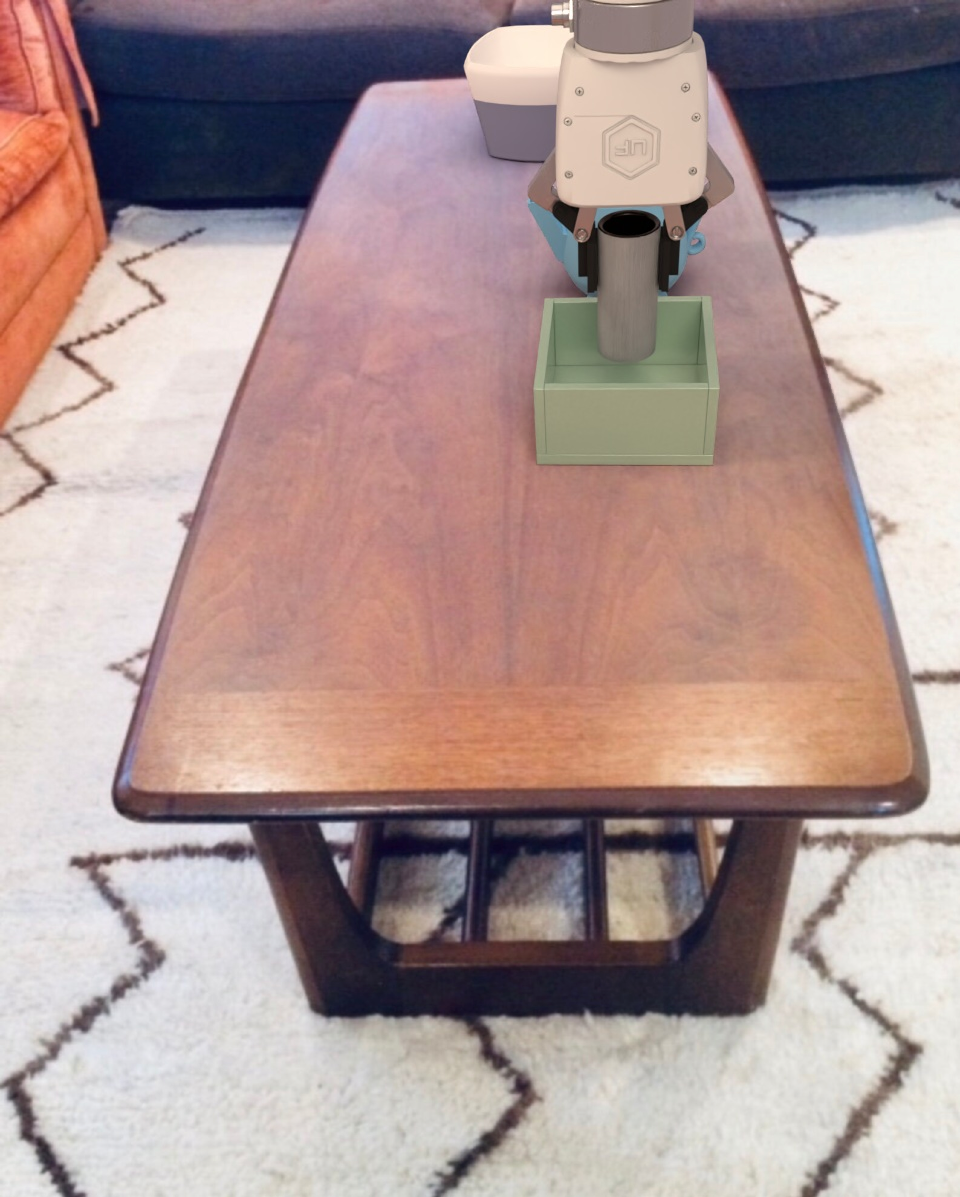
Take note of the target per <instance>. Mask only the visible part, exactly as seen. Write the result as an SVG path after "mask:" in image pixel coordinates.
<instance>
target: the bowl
mask: <svg viewBox="0 0 960 1197" xmlns="http://www.w3.org/2000/svg"><path fill="white" fill-rule="evenodd" d="M572 37H574V32H573V33H570V28H563V26H552V24H534V25H533V24H530V25H529V24H528V25H511V26H509V25H508V26H501V27H500V26H499V27H497V28H494V29H493V30H491V31H488V32H486V33H485V34H484V35H483V36H481V37H480V38H479V39H478V40H476V41H475V42H474V43H473V44H472V46H471V48H470V49H469V51H468V53H467V54H466V57H465V60H464V64H463V70H464V73H465V77H466V79H467V84H468V87H469V90H470V95H471V98H472V101H473V103H474V108H475V110H476V114H477V117H478V121H479V124H480V128H481V131H482V134H483V135H482V136H483V138H484V141H485V145H486V148H487V152H488V154H489V155H490V156H491V157H494V158H498V159H503V160H510V161H516V162H518V161H519V162H545V160H546V159H547V158H548V156H549V155H550V153H551V152H552V150H553V149H554V148H555V146H556V109H557V92H558V79H559V71H560V65H561V58H562V54H563V49H564V47H565V44H566V42H567V41H568V40H569V39H571V38H572Z"/></svg>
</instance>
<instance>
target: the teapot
mask: <svg viewBox="0 0 960 1197" xmlns="http://www.w3.org/2000/svg"><path fill="white" fill-rule="evenodd" d="M526 200H527V201H526V204H527V208H528V210H529V211H530V213H531V215H532V217H533V219H534V220H535V222H536V224H537V226H538V228H539V229H540V231H541V233H542V235H543V236H544V239H545V240H546V242H547V243H548V246H549V247H550V249H551V251H552V252H553V255H554V256H555V258H556V260H557V262H560V263H561V262H562V266H563V268H564V270H565V272H566V273H567V275H568V276H569V278H570V280H571V281H572V282H573V284H574V285H575V286H576V287H577V289H579V291H581V292H582V293H583V294H585V295H586V297H585V298H590V297H597V291H594V293H587V277H578V242H577V241H576V240H575V239H574V236H573V234H572V233H571V232H570V231H569V230H568V229H567V228H566V227H565V226H564V225H563V224H561V223H560V222H559V221H558V220H557V219H556V218H555V217H554V216H553V214H552V213H551V212H549V211H547V210H545V209H544V208H542V207H541V206H539V205H538V204H536V203H535V202H533V201H532V200H530V199H529V198H527V199H526ZM621 210H641V211H646V212H649V213H652V214H654V215H655V216H657V217H658V218H659V220H660V222H661V226H663V220H664V219H665V217H664V213H663V208H662V206H653V207H615V208H597V211H596V215H595V219H594V221H595V224H596V228H597V225H598V222H599V220H600V219H601V218H602V217H604V216H605V215H607V214H609V213H612V212H616V211H621ZM702 219H703V216H702V217H701V218H700V219H699V220H698V221H697V222H696V223H695V224H694V225H692V226H691V227H690V228H689V229H688V230H687V231H686V232H685V236H684V237H683V238H682V239H680V255H679V272H678V275H669V288H668V290H670V289H671V288H673V286H674V285H675V284H676V283H677V282H678V280H679V279H680V277H681V276H682V274H683V272H684V270H685V267H686V265H687V262H688V256H696V255H698V254H700V253H701V252H703V251H704V249H705V247H706V242H707V240H706V236H705V235H704V233H703V232H701V231H697V229H698V227H699V225H700V223H701V221H702ZM693 240H698V241H697V242H696V243H695V244H692V242H693ZM658 296H669V295H668V292H661V290H659V286H658Z"/></svg>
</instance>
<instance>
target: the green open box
mask: <svg viewBox="0 0 960 1197" xmlns="http://www.w3.org/2000/svg"><path fill="white" fill-rule="evenodd" d="M541 317H542V318H541V324H540V332H539V340H538V348H537V356H536V365H535V370H534V371H535V372H534V381H533V388H532V392H533V394H532V395H533V409H534V410H533V411H534V412H533V414H534V416H533V417H534V435H535V436H534V438H535V453H536V454H535V456H536V457H535V459H536V465H539V466H541V465H545V466H547V465H548V466H549V465H550V466H551V465H553V466H554V465H555V466H556V465H557V466H562V465H563V466H565V465H566V466H713V465H714V458H715V457H714V456H715V446H716V437H717V436H716V435H717V424H718V415H719V414H718V413H719V404H720V403H719V401H720V391H721V385H720V376H719V364H718V353H717V342H716V332H715V322H714V311H713V300H712V296H711V295H671V296H670V295H668V296H658V308H657V332H656V347H655V351H654V353H653V354H652V355H651V356H650V357H648V358H647V359H645V360H642V361H639V362H635V363H617V362H613V361H610V360H607V359H605V358H604V357H602V356H601V355H600V353H599V352H598V344H597V297H590V298H586V297H546V298H544V300H543V309H542V316H541Z"/></svg>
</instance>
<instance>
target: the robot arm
mask: <svg viewBox="0 0 960 1197" xmlns="http://www.w3.org/2000/svg"><path fill="white" fill-rule="evenodd" d="M695 3H696V0H562V1H561V2H551V6H550V7H551V8H550V15H551V16H550V18H551V20H550V21H551V25H552V26H563V28H570V33H573V32H574V37H572V38H571V39H569V40H568V41H567V42H566V44H565V47H564V49H563V54H562V58H561V65H560V71H559V79H558V92H557V109H556V146H555V148H554V149H553V150H552V152H551V153H550V155H549V156H548V158H547V159H546V160H545V161H543V163H542V165H541V166H540V168H538V171H537V172H536V173H535V175H534V176H533V178H532V179H531V180H530V182H529V184H528V187H527V197H528V198H529V199H530V200H532V201H533V202H535V203H536V204H538V205H539V206H541V207H542V208H544V209H545V210H547V211H549V212H551V213H552V214H553V216H554V217H555V218H556V219H557V220H558V221H559V222H560V223H561V224H563V225H564V226H565V227H566V228H567V229H568V230H569V231H570V232H571V233H572V234H573V236H574V239H575V240H576V241H577V242H578V277H587V293H594V291H597V251H598V237H597V228H596V224H595V221H594V219H595V215H596V211H597V208H615V207H653V206H662V208H663V213H664V217H665V219H664V220H663V226H661V235H660V258H659V282H658V286H659V290H661V292H666V293H669V289H668V288H669V275H678V272H679V255H680V239H682V238H683V237H684V236H685V232H686V231H687V230H688V229H689V228H690V227H691V226H692V225H694V224H695V223H696V222H697V221H698V220H699V219H700V218H701V217H702V218H703V217H704V216H705V215H706V214H707V213H708V211H709V209H711V208H714V207H715V206H717V205H718V204H720V203H721V202H723V201H724V200H725V199H727V198H728V197H730V196H732V195H733V194H734V192H735V190H736V186H735V179H734V177H733V175H732V174H731V172H730V171H729V169H728V168H727V166H725V164H724V162H723V161H722V160H721V158H720V157H719V155H718V154H717V152H716V151H715V150H714V148H713V147H712V146H711V144H710V142H709V77H708V76H709V75H708V62H707V61H708V60H707V54H706V47H705V42H704V40H703V37H702V35H701V34H699V33H698V32H696V31H694V21H695V7H696V6H695ZM706 179H707V183H706ZM554 184H556V188H555V186H554ZM528 198H527V199H528Z"/></svg>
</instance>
